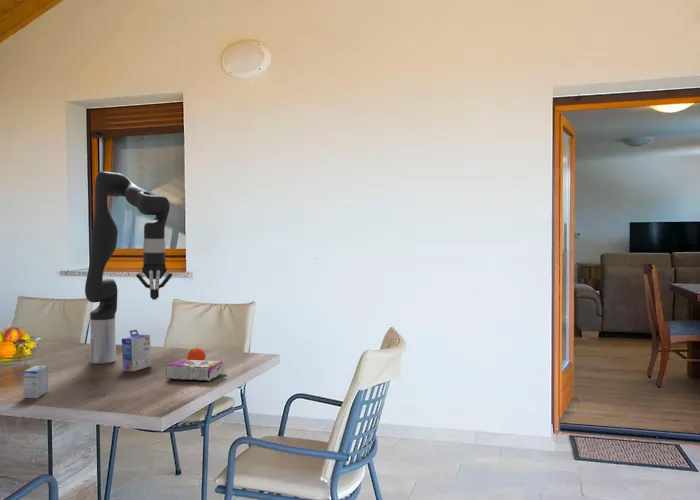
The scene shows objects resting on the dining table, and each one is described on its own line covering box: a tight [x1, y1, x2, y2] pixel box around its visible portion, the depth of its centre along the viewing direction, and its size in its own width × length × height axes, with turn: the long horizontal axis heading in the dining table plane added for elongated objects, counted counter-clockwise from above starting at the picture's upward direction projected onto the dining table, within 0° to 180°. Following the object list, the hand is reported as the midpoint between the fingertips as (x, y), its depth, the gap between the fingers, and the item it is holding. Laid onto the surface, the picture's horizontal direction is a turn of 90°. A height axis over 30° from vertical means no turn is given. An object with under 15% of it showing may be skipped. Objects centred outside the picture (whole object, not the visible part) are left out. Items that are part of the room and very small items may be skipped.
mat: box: [176, 369, 228, 381], centre depth 221 cm, size 17×14×1 cm
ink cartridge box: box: [121, 329, 152, 372], centre depth 230 cm, size 10×6×14 cm, turn 155°
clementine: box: [184, 347, 206, 361], centre depth 234 cm, size 8×7×7 cm
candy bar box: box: [165, 359, 224, 382], centre depth 215 cm, size 11×5×16 cm
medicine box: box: [23, 365, 49, 399], centre depth 193 cm, size 8×4×9 cm, turn 5°
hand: (154, 299), depth 219 cm, fingers closed
